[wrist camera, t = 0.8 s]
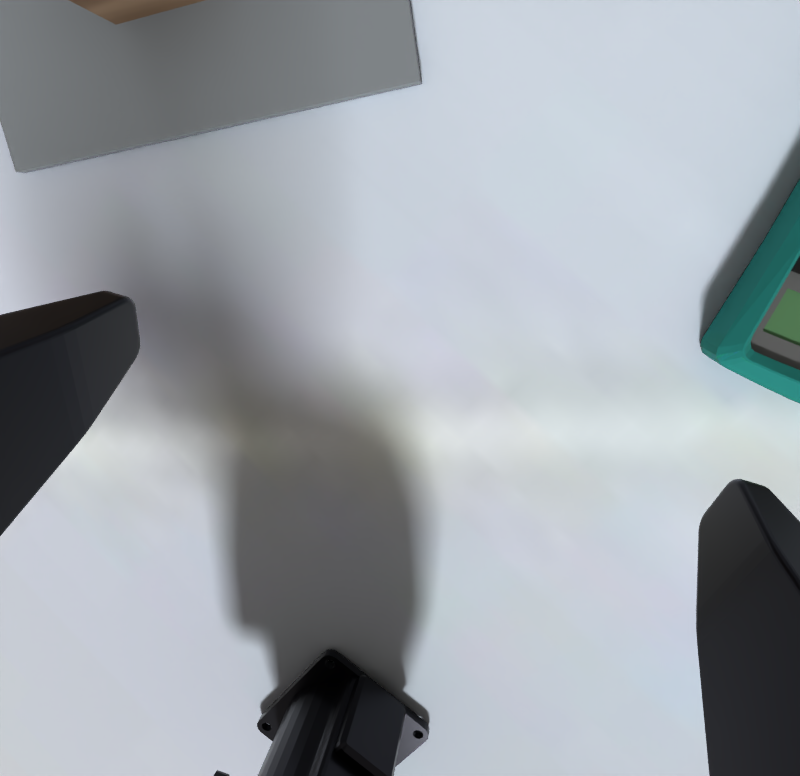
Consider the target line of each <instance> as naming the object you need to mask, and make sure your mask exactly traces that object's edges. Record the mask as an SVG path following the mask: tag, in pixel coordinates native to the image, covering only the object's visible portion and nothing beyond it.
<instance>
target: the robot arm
mask: <svg viewBox="0 0 800 776" xmlns="http://www.w3.org/2000/svg"><path fill="white" fill-rule="evenodd" d="M139 348H140V337H139V330H138V322H137V314H136V307H135V304H134V302H133V301H132V300H131V299H130V298H129V297H126V296H123V295H120V294H116V293H113V292H109V291H100V292H96V293H92V294H88V295H83V296H79V297H75V298H70V299H66V300H62V301H58V302H53V303H49V304H45V305H40V306H36V307H32V308H28V309H23V310H19V311H15V312H10V313H6V314H2V315H0V536H1V535H2V534H3V532H4V531H5V530H6V529H7V528H8V526H9V525H10V524H11V523H12V522H13V520H14V519H15V518H16V517H17V516H18V514H19V513H20V512H21V511H22V510H23V508H24V507H25V506H26V505H27V504H28V502H29V501H30V500H31V499H32V498H33V496H34V495H35V494H36V493H37V492H38V490H39V489H40V488H41V487H42V486H43V484H44V483H45V482H46V481H47V480H48V478H49V477H50V476H51V475H52V474H53V472H54V471H55V470H56V469H57V468H58V466H59V465H60V464H61V463H62V462H63V460H64V459H65V458H66V457H67V456H68V454H69V453H70V452H71V451H72V450H73V449H74V447H75V446H76V445H77V444H78V442H79V441H80V440H81V439H82V437H83V436H84V435H85V433H86V432H87V431H88V429H89V428H90V427H91V425H92V424H93V422H94V421H95V419H96V418H97V416H98V415H99V413H100V412H101V410H102V409H103V407H104V406H105V404H106V403H107V401H108V400H109V398H110V397H111V395H112V394H113V392H114V391H115V389H116V388H117V386H118V385H119V383H120V382H121V380H122V379H123V377H124V376H125V374H126V373H127V371H128V370H129V368H130V366H131V365H132V363H133V362H134V360H135V359H136V357H137V355H138V352H139ZM696 630H697V645H698V656H699V667H700V678H701V689H702V699H703V710H704V721H705V732H706V743H707V753H708V764H709V775H710V776H800V521H799V520H798V519H797V518H796V517H795V516H794V515H793V514H792V513H791V512H790V511H789V510H788V509H787V508H786V507H785V506H784V504H783V503H782V502H781V501H780V500H779V499H778V498H777V497H776V496H775V495H774V494H773V493H772V492H771V491H770V490H769V489H768V488H767V487H765V486H762V485H759V484H756V483H752V482H749V481H745V480H742V479H735V480H732V481H731V482H729V484H728V485H727V486H726V487H725V488H724V489H723V491H722V492H721V493H720V494H719V496H718V497H717V498H716V500H715V501H714V502H713V503H712V505H711V506H710V507H709V508H708V510H707V511H706V512H705V514H704V515H703V517H702V519H701V522H700V526H699V538H698V572H697V606H696ZM328 660H332V661H334V663H331V662H329V661H328ZM267 723H268V724H267ZM269 724H270V725H269ZM257 727H258V729H259V730H260V732H261V733H263V734H264V735H265V736H267V737H268V738H269V739H270V740H272V741H273V742H272V744H271V747H270V749H269V751H268V754H267V756H266V758H265V760H264V763H263V765H262V767H261V769H260V772H259V774H258V776H394V770H395V767H396V766H397V765H398V764H399V763H401V762H402V761H403V760H404V759H405V758H406V757H408V756H409V755H410V754H411V753H412V752H413V751H415V750H416V749H417V748H418V747H419V746H421V745H422V744H423V743H424V742H425V741H426V740H427V739H428V734H429V726H428V724H427V723H426V722H425V721H424V720H422V719H421V718H420V717H419V716H417V715H416V714H415V713H414V712H412V711H411V710H410V709H409V708H407V707H406V706H405V705H404V704H402V703H401V702H400V701H399V700H397V699H396V698H395V697H394V696H392V695H391V694H390V693H389V692H387V691H386V690H385V689H384V688H382V687H381V686H380V685H379V684H377V683H376V682H375V681H374V680H372V679H371V678H370V677H369V676H367V675H366V674H365V673H364V672H362V671H361V670H360V669H359V668H357V667H356V666H355V665H354V664H352V663H351V662H350V661H349V660H347V659H346V658H345V657H344V656H342V655H341V654H340V653H339V652H337V651H335V650H326V651H325V652H324V653H323V654H322V655H321V656H320V657H319V658H318V659H317V660H316V661H315V662H314V663H313V664H312V665H311V666H310V667H309V668H308V669H307V670H306V671H305V672H304V673H303V674H302V675H301V676H300V677H299V678H298V679H297V680H296V681H295V682H294V683H293V684H292V685H291V686H290V687H289V688H288V689H287V690H286V691H285V692H284V693H283V694H282V695H281V696H280V697H279V698H278V699H277V700H276V701H275V702H274V703H273V704H272V705H271V706H270V707H269V708H268V709H267V710H266V711H265V712H264V713H263V714H262V715H261V717H260V719H259V721H258V723H257ZM416 730H419V731H421V732H418V731H416ZM214 776H229V774H226V773H223V772H221V771H218V770H217V771H216V773H215V774H214Z"/></svg>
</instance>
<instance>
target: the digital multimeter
mask: <svg viewBox="0 0 800 776" xmlns="http://www.w3.org/2000/svg"><path fill="white" fill-rule="evenodd" d="M799 256H800V179H799V181H798V183H797V184H796V186H795V188H794V190H793V191H792V193H791V195H790V196H789V198H788V200H787V202H786V203H785V205H784V207H783V208H782V210H781V212H780V214H779V215H778V217H777V219H776V220H775V222H774V224H773V226H772V227H771V229H770V231H769V232H768V234H767V236H766V238H765V239H764V241H763V242H762V244H761V246H760V247H759V249H758V250H757V252H756V254H755V255H754V257H753V258H752V260H751V262H750V263H749V265H748V266H747V268H746V269H745V271H744V273H743V274H742V276H741V277H740V279H739V281H738V282H737V284H736V285H735V287H734V289H733V290H732V292H731V293H730V295H729V297H728V298H727V300H726V301H725V303H724V305H723V306H722V308H721V309H720V311H719V312H718V314H717V316H716V317H715V319H714V320H713V322H712V324H711V325H710V327H709V328H708V330H707V332H706V333H705V335H704V336H703V338H702V341H701V345H700V347H701V350H702V352H703V353H704V354H705V355H706V356H708V357H709V358H711V359H712V360H714V361H716V362H717V363H719V364H720V365H722V366H724V367H725V368H727V369H729V370H731V371H733V372H735V373H737V374H739V375H741V376H743V377H745V378H747V379H749V380H751V381H753V382H755V383H757V384H759V385H761V386H763V387H765V388H767V389H769V390H771V391H774V392H776V393H778V394H780V395H782V396H784V397H786V398H788V399H791V400H793V401H795V402H798V403H800V257H799ZM798 258H799V259H798ZM796 261H797V262H796ZM795 263H796V264H795ZM793 266H794V267H793ZM792 268H793V269H792Z"/></svg>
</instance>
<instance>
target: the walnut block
mask: <svg viewBox="0 0 800 776" xmlns="http://www.w3.org/2000/svg"><path fill="white" fill-rule="evenodd" d="M69 1H71V2H73V3H75V4H77V5H79V6H81V7H83V8H85V9H86V10H88V11H90V12H92V13H94V14H96V15H98V16H100V17H102V18H104V19H106V20H108V21H110V22H112V23H114V24H116V25H117V24H120V23H124V22H128V21H131V20H135V19H139V18H142V17H146V16H150V15H153V14H157V13H161V12H164V11H168V10H172V9H175V8H179V7H183V6H186V5H190V4H194V3H197V2H201V1H205V0H69Z"/></svg>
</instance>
